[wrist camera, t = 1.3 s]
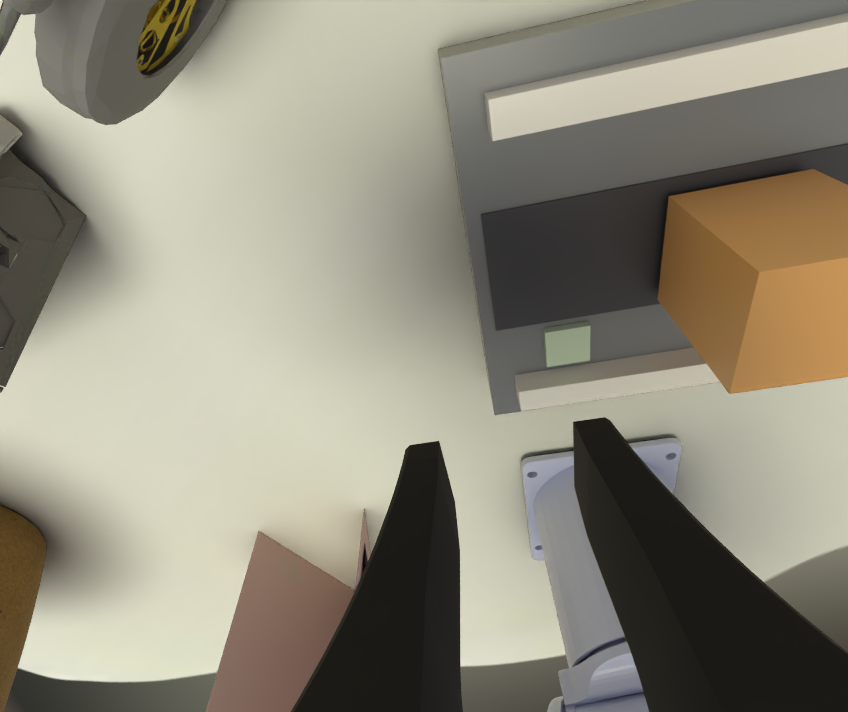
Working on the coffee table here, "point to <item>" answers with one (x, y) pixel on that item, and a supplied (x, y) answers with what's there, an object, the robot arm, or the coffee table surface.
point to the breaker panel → (623, 173)
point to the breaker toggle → (761, 278)
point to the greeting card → (279, 629)
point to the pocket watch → (111, 49)
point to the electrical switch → (27, 247)
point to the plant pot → (17, 590)
